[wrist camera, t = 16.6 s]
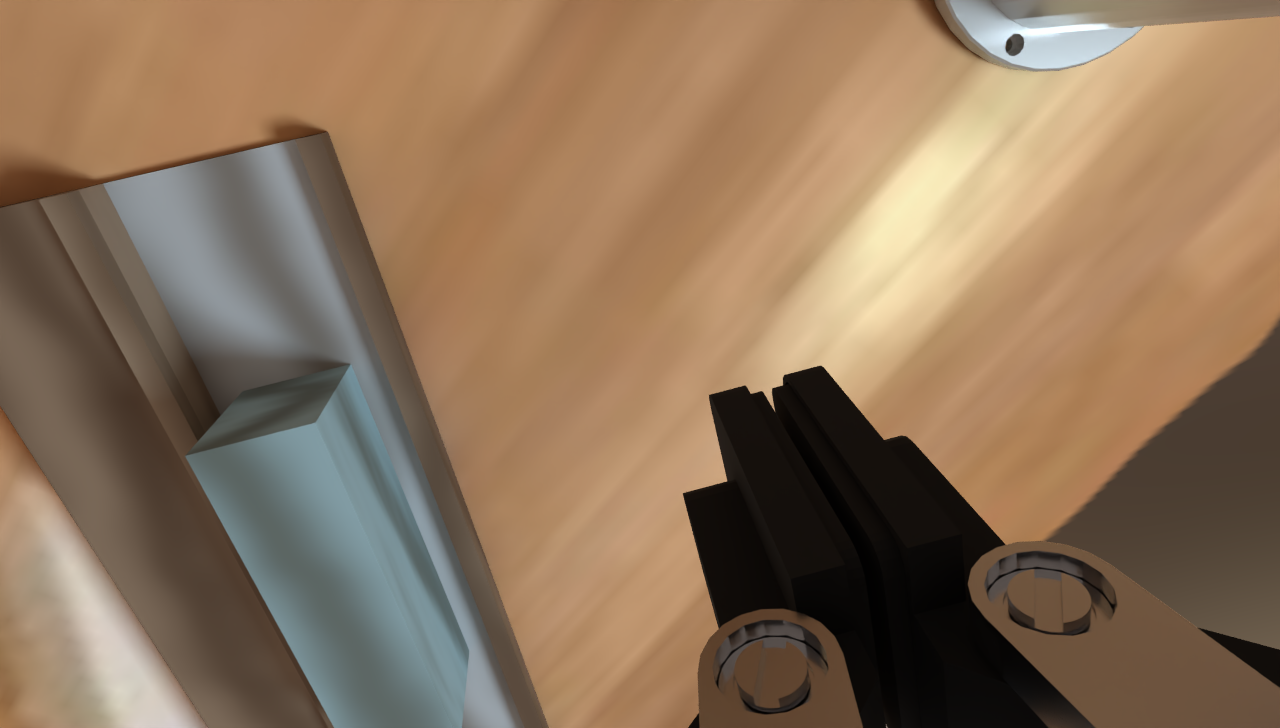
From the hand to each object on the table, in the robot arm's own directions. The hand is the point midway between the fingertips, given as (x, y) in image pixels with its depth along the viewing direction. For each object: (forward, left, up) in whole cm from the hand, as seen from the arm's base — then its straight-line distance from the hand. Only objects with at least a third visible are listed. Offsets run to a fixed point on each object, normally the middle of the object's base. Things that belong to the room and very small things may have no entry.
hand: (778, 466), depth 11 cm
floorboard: (+19, +14, -24) cm, 33 cm away
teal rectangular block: (+16, +13, -23) cm, 31 cm away
